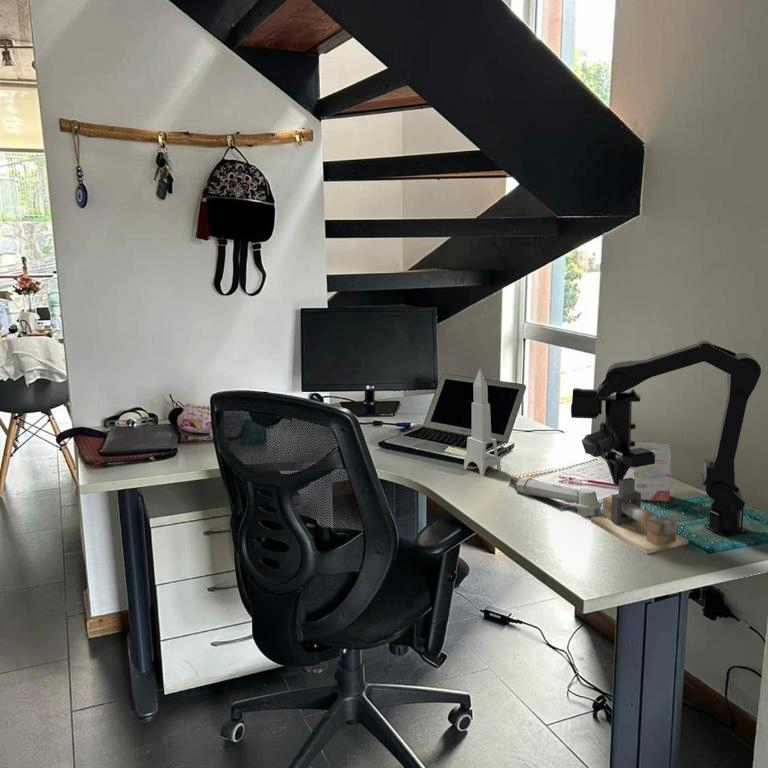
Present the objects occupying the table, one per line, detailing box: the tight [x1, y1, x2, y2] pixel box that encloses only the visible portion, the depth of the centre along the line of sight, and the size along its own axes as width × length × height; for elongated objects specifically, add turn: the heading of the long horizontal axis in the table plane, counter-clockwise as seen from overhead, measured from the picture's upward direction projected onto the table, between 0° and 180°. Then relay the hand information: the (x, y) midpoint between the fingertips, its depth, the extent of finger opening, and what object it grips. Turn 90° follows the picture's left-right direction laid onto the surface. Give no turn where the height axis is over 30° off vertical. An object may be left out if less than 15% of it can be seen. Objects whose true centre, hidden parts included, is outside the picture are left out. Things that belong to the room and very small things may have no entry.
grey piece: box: [514, 477, 603, 518], centre depth 180 cm, size 5×7×25 cm
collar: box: [611, 477, 642, 525], centre depth 164 cm, size 6×2×10 cm, turn 110°
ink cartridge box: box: [633, 442, 671, 503], centre depth 180 cm, size 9×5×15 cm, turn 68°
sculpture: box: [463, 368, 502, 477], centre depth 206 cm, size 7×8×30 cm
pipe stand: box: [590, 493, 689, 555], centre depth 161 cm, size 11×19×6 cm, turn 20°
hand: (617, 484), depth 167 cm, fingers closed
